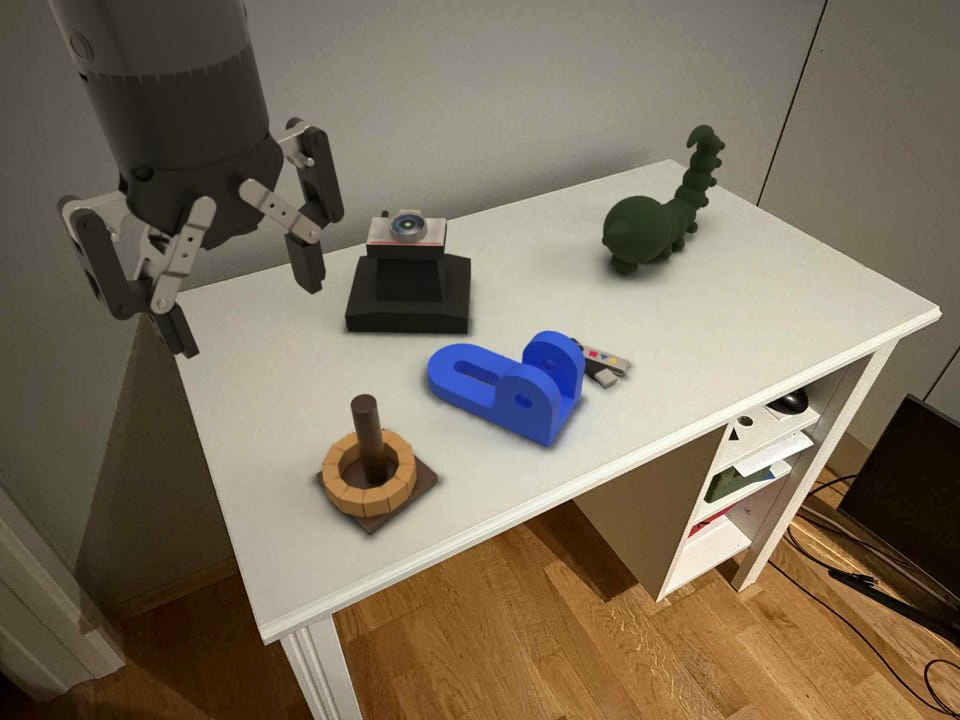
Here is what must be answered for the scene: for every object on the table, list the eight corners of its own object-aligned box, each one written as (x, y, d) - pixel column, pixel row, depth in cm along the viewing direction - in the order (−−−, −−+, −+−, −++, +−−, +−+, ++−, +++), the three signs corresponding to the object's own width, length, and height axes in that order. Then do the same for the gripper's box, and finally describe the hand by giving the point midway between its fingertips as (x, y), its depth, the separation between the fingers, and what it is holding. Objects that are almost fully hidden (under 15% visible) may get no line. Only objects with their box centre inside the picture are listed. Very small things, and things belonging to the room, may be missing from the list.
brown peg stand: (370, 535, 62) (353, 458, 54) (317, 481, 67) (294, 402, 59) (438, 481, 67) (432, 403, 59) (384, 434, 72) (372, 355, 63)
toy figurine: (662, 223, 107) (569, 273, 93) (694, 108, 95) (592, 146, 81) (712, 245, 102) (622, 301, 88) (752, 127, 90) (655, 171, 76)
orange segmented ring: (362, 533, 61) (359, 520, 60) (308, 478, 66) (304, 463, 64) (434, 478, 66) (433, 464, 64) (378, 429, 71) (376, 415, 69)
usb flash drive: (558, 348, 82) (559, 342, 81) (590, 333, 84) (591, 328, 83) (603, 389, 77) (604, 383, 76) (635, 372, 79) (637, 366, 78)
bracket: (579, 400, 76) (588, 343, 69) (548, 447, 70) (555, 391, 64) (452, 347, 82) (450, 291, 76) (414, 386, 77) (409, 330, 71)
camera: (329, 252, 74) (350, 179, 84) (349, 336, 85) (365, 263, 95) (465, 254, 74) (470, 180, 84) (467, 339, 85) (472, 265, 95)
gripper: (258, -9, 34) (313, 248, 45) (-42, 56, 27) (111, 343, 38) (342, 22, 30) (379, 294, 41) (18, 107, 23) (169, 409, 34)
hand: (251, 317), depth 40 cm, fingers open, 8 cm apart
